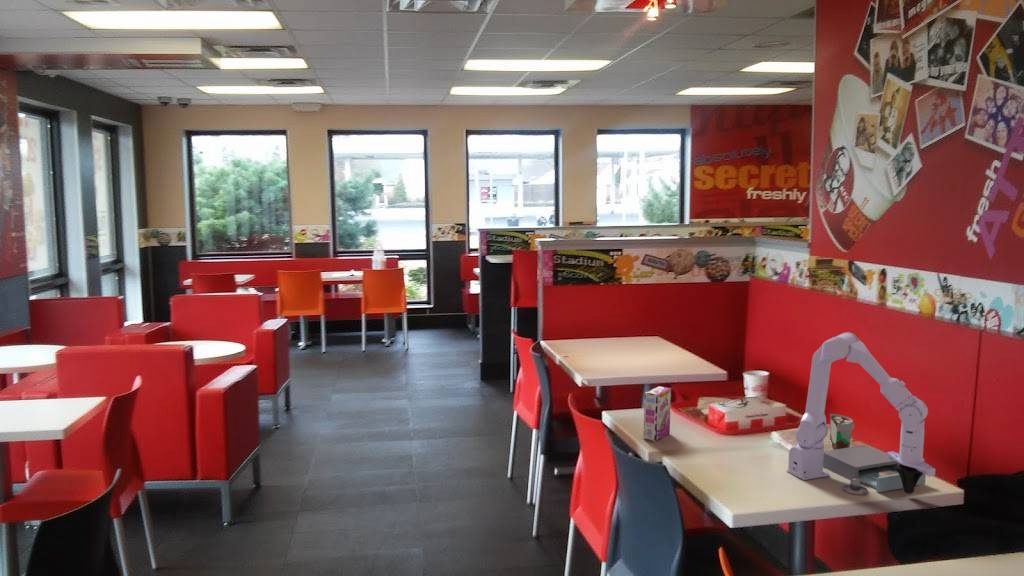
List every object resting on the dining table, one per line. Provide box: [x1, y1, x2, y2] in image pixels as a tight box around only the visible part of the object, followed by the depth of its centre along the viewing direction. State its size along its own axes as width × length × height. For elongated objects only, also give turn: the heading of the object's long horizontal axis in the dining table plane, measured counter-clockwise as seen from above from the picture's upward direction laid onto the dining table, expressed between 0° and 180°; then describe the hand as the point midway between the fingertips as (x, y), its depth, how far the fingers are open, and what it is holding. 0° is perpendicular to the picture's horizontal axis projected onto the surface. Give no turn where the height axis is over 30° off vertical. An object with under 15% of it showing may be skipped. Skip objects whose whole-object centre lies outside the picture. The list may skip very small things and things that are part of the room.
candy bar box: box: [642, 386, 672, 442], centre depth 271 cm, size 11×5×16 cm, turn 144°
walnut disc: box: [879, 471, 897, 477], centre depth 230 cm, size 5×5×2 cm
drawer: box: [858, 466, 927, 493], centre depth 231 cm, size 13×17×4 cm
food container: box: [829, 413, 855, 450], centre depth 257 cm, size 12×6×10 cm, turn 168°
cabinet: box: [823, 444, 900, 481], centre depth 240 cm, size 14×17×4 cm
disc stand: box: [842, 477, 869, 495], centre depth 224 cm, size 6×6×4 cm
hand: (908, 492), depth 219 cm, fingers closed
